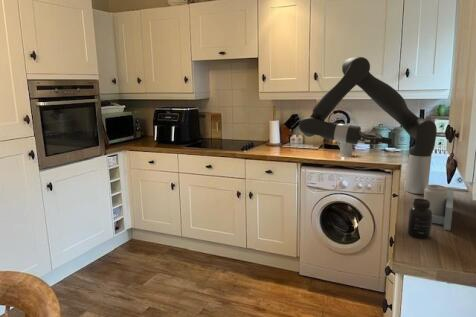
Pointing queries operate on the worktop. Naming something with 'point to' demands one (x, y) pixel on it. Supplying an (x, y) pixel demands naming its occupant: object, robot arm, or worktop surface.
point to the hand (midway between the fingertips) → (391, 141)
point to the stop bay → (448, 212)
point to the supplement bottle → (420, 219)
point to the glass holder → (345, 149)
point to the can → (436, 199)
